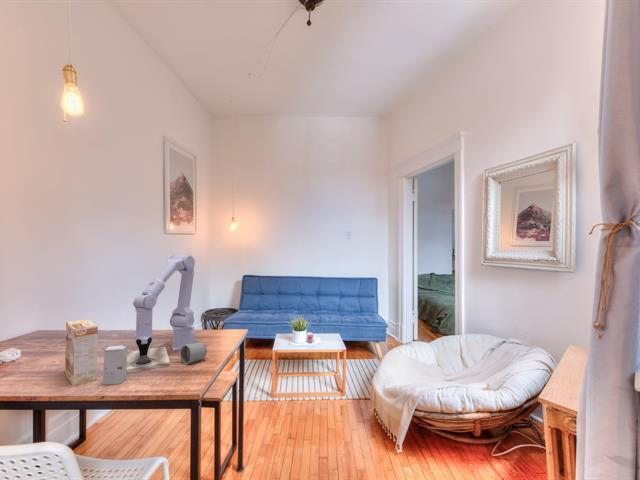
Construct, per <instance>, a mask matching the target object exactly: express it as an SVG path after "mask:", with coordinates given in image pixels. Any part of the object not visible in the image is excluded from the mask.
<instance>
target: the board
mask: <svg viewBox="0 0 640 480" xmlns="http://www.w3.org/2000/svg"><path fill="white" fill-rule="evenodd" d="M166 348H167V347H166V346H159V347H153V348H151V347H150V348H148V353H147V356H148V357H149V362H148V363H147V364H144V365H139V364H138V359H139V357H140V353H139V349H138V350H132V351H127V366H126V375H127V374H131V373H132V374H133V373H137V372H143V371H150V370H154V369H161V368H165V367H166V368H167V367H170V366H171V363H170V362H171V361H170V358H169V355H168V354H169V353H168V352H167V349H166Z"/></svg>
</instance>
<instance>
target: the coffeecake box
mask: <svg viewBox="0 0 640 480" xmlns="http://www.w3.org/2000/svg"><path fill="white" fill-rule="evenodd" d="M65 322H66V323H65V328H66V329H65V358H64V360H65V363H64V365H65V366H64V375H65V376H66V378H67V379H68V381H69V382H70V384H71V386H73V387H74V386H79V385H82V384H83V385H84V384H86V383H90V382H94V381H97V377H98V376H97V374H98V373H97V372H98V371H97V370H98V341H99V340H98V334H99V333H98V331H99V328H98V327H99V326H98V325H97V324H96V323H94V322H93V321H92V320H90V319H89V318H84V319H77V320H76V319H75V320H69V321H65Z"/></svg>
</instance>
